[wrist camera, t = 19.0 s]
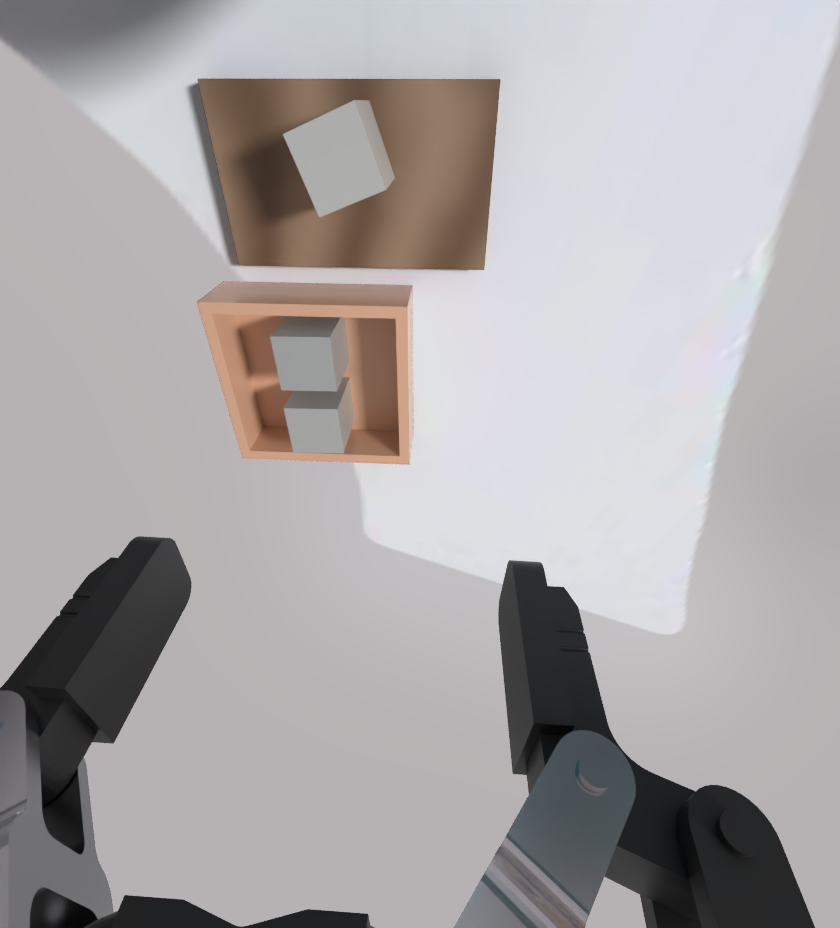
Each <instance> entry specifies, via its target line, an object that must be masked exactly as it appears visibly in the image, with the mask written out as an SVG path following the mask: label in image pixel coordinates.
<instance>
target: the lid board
mask: <svg viewBox="0 0 840 928" xmlns="http://www.w3.org/2000/svg"><path fill="white" fill-rule="evenodd" d="M198 83H199V88H200V92H201V97H202V101H203V106H204V110H205V115H206V119H207V124H208V128H209V132H210V137H211V141H212V146H213V150H214V155H215V159H216V164H217V168H218V173H219V177H220V181H221V186H222V190H223V195H224V199H225V204H226V208H227V213H228V217H229V222H230V226H231V231H232V235H233V239H234V244H235V248H236V253H237V257H238V262H239V265H259V266H310V267H361V268H413V269H464V270H484V265H485V253H486V241H487V230H488V218H489V206H490V194H491V182H492V170H493V159H494V147H495V135H496V123H497V111H498V100H499V88H500V79H198ZM353 100H368V101H369V102H370V105H371V108H372V111H373V114H374V117H375V120H376V123H377V126H378V129H379V132H380V134H381V137H382V140H383V143H384V146H385V149H386V152H387V155H388V158H389V161H390V164H391V167H392V170H393V173H394V176H395V179H394V180H393V181H392V183H391V184H390V185H389V187H388V188H387V189H386V190H385V191H382V192H380V193H377V194H375V195H373V196H370V197H368V198H365V199H363V200H361V201H358V202H356V203H353V204H351V205H348V206H346V207H344V208H341V209H339V210H336V211H334V212H332V213H329V214H327V215H324V216H322V217H320V218H319V216H318V214H317V211H316V209H315V207H314V204H313V202H312V200H311V198H310V195H309V193H308V191H307V188H306V186H305V184H304V182H303V179H302V177H301V175H300V172H299V170H298V168H297V166H296V163H295V161H294V159H293V156H292V154H291V152H290V150H289V147H288V145H287V143H286V140H285V138H284V136H283V134H284V133H286V132H288V131H291V130H293V129H295V128H297V127H299V126H301V125H303V124H305V123H307V122H309V121H311V120H314V119H316V118H318V117H320V116H322V115H324V114H326V113H328V112H330V111H332V110H335V109H337V108H339V107H341V106H343V105H345V104H347V103H349V102H351V101H353Z"/></svg>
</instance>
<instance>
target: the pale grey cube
mask: <svg viewBox="0 0 840 928" xmlns="http://www.w3.org/2000/svg"><path fill="white" fill-rule="evenodd" d="M283 136H284V138H285V140H286V143H287V145H288V147H289V150H290V152H291V154H292V156H293V159H294V161H295V163H296V166H297V168H298V170H299V172H300V175H301V177H302V179H303V182H304V184H305V186H306V188H307V191H308V193H309V195H310V198H311V200H312V202H313V204H314V207H315V209H316V211H317V214H318V216H319V218H320V217H322V216H324V215H327V214H329V213H332V212H334V211H336V210H339V209H341V208H344V207H346V206H348V205H351V204H353V203H356V202H358V201H361V200H363V199H365V198H368V197H370V196H373V195H375V194H377V193H380V192H382V191H385V190H386V189H387V188H388V187H389V185H390V184H391V183H392V181H393V180H394V179H395V176H394V173H393V170H392V167H391V164H390V161H389V158H388V155H387V152H386V149H385V146H384V143H383V140H382V137H381V134H380V132H379V129H378V126H377V123H376V120H375V117H374V114H373V111H372V108H371V105H370V102H369V101H368V100H353V101H351V102H349V103H347V104H345V105H343V106H341V107H339V108H337V109H335V110H332V111H330V112H328V113H326V114H324V115H322V116H320V117H318V118H316V119H314V120H311V121H309V122H307V123H305V124H303V125H301V126H299V127H297V128H295V129H293V130H291V131H288V132H286V133H284V134H283Z"/></svg>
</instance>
